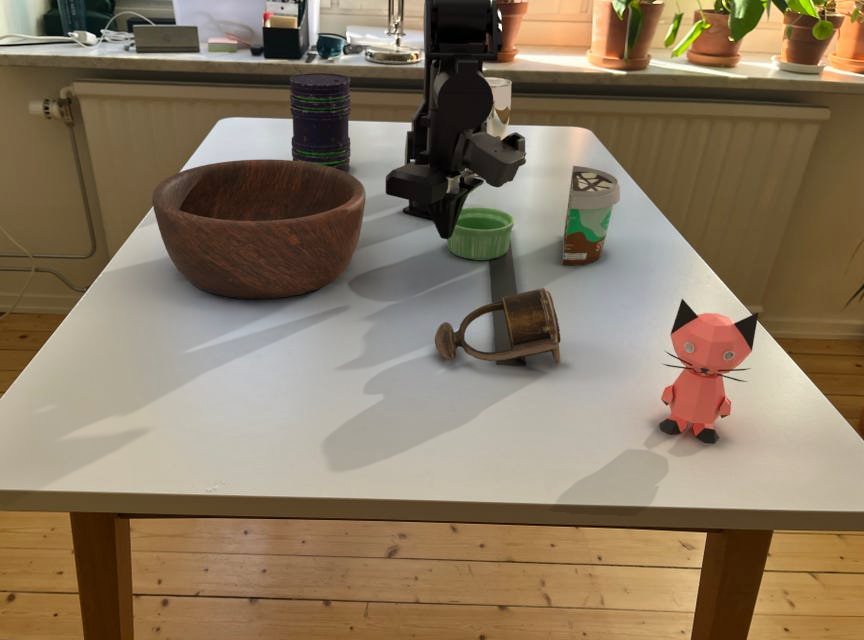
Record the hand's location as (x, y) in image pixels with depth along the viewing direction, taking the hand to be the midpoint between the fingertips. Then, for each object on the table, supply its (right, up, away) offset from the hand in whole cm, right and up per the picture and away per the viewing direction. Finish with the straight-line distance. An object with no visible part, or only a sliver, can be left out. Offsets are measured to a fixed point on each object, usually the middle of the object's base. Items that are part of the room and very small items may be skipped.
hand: (445, 237), depth 100 cm
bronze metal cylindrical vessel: (+4, -14, -16) cm, 22 cm away
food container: (+19, -1, +8) cm, 21 cm away
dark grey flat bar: (+7, -6, -2) cm, 10 cm away
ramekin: (+5, 0, +8) cm, 9 cm away
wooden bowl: (-22, -4, +2) cm, 23 cm away
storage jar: (-18, +17, +38) cm, 46 cm away
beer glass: (+10, +17, +40) cm, 44 cm away
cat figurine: (+20, -21, -28) cm, 40 cm away
